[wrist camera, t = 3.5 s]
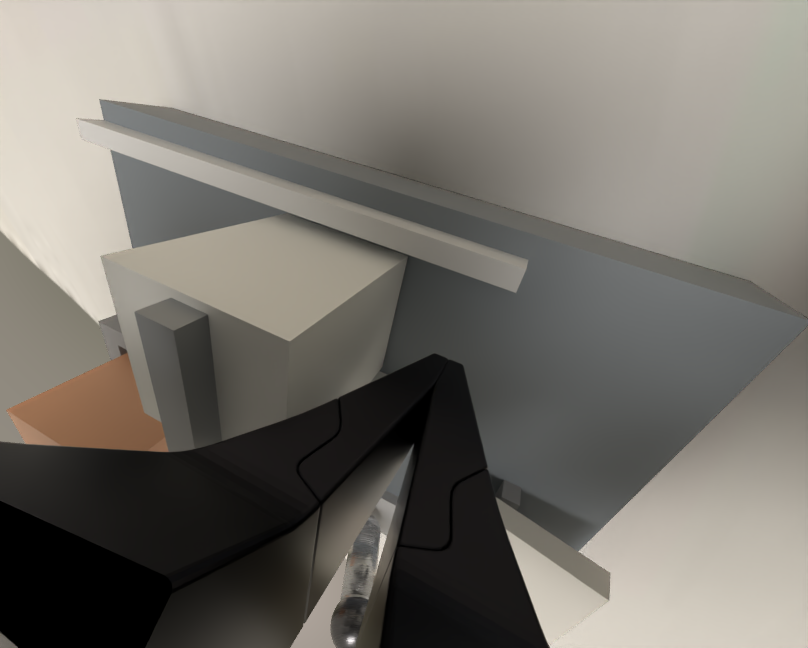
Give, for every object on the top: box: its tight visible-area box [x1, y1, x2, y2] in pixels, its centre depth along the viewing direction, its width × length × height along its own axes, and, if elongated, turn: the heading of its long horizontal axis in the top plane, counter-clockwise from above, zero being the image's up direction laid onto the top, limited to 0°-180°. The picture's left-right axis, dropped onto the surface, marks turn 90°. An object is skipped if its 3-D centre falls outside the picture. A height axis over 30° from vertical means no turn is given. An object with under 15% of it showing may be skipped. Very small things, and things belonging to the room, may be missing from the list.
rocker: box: [496, 497, 610, 645], centre depth 11 cm, size 6×4×1 cm, turn 77°
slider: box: [101, 213, 408, 452], centre depth 8 cm, size 4×4×6 cm
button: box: [6, 353, 169, 452], centre depth 13 cm, size 5×5×4 cm
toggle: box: [331, 515, 381, 648], centre depth 13 cm, size 2×2×4 cm
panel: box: [76, 99, 808, 551], centre depth 13 cm, size 20×14×4 cm
